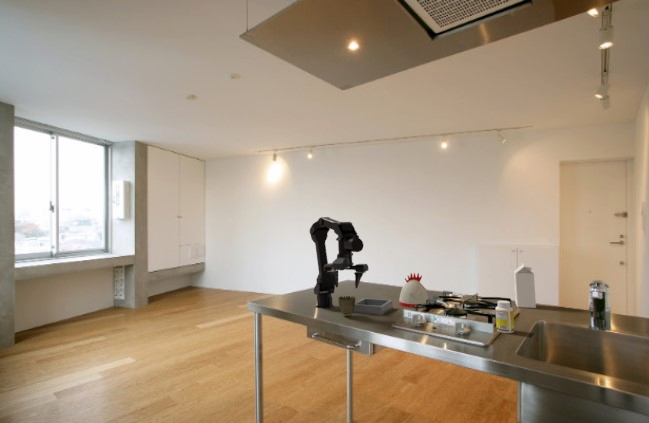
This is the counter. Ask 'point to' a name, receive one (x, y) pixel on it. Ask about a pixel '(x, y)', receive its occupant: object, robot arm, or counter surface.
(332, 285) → the robot arm
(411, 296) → the kitchen timer
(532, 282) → the milk carton
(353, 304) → the cup
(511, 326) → the supplement bottle
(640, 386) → the counter surface
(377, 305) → the tray
